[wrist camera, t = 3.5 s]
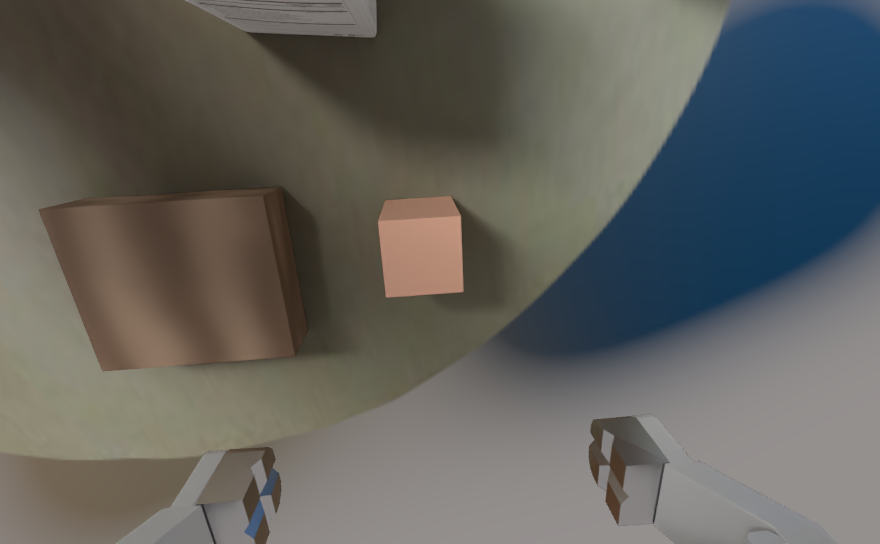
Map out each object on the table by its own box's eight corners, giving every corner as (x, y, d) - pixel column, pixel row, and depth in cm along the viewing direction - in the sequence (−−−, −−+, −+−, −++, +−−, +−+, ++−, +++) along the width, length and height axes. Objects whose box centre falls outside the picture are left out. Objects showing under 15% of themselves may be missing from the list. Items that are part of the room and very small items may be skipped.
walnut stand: (136, 343, 34) (102, 371, 30) (85, 198, 30) (38, 209, 26) (307, 330, 34) (295, 356, 31) (281, 186, 30) (262, 195, 27)
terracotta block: (391, 262, 33) (386, 297, 26) (385, 200, 31) (377, 221, 25) (453, 258, 33) (463, 292, 27) (451, 196, 31) (460, 215, 25)
